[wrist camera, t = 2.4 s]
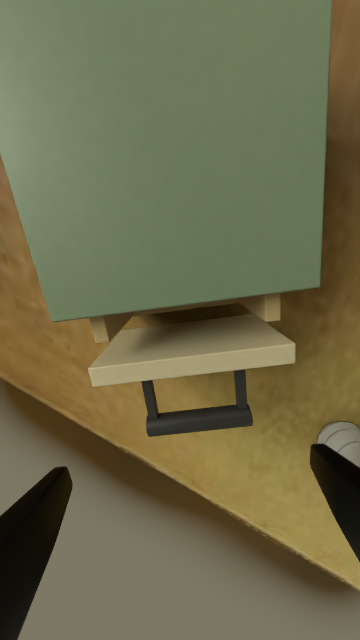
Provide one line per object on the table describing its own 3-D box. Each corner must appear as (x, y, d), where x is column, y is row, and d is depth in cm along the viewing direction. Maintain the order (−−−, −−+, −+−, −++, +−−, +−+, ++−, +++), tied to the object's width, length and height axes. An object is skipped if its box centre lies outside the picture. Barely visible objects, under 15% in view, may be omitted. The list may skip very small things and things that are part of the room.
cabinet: (255, 275, 18) (321, 287, 10) (110, 295, 18) (51, 322, 10) (247, 53, 14) (344, -252, 6) (63, 85, 14) (-95, -151, 6)
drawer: (256, 379, 19) (295, 439, 13) (134, 393, 20) (111, 458, 13) (246, 141, 15) (300, 42, 8) (85, 166, 15) (11, 93, 8)
